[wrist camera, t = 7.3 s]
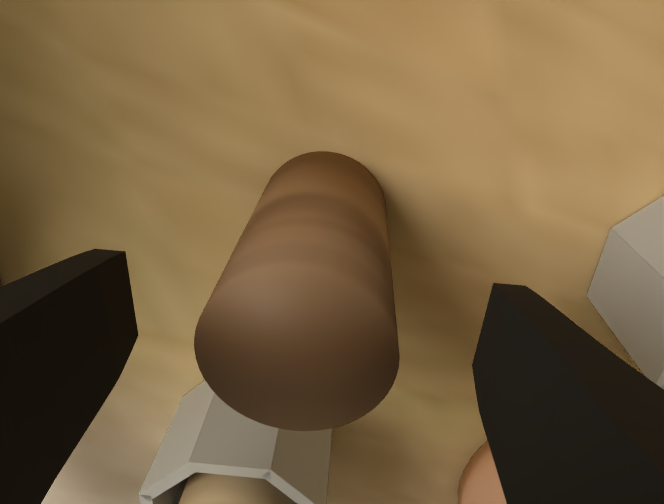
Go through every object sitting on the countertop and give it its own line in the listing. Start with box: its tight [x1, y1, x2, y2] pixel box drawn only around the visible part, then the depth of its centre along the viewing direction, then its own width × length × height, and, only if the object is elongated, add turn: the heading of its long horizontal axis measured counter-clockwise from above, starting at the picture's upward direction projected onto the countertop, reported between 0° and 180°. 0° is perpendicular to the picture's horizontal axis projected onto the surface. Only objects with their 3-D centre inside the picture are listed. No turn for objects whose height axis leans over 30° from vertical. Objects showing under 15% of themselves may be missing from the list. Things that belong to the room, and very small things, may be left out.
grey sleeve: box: [138, 381, 332, 504], centre depth 17 cm, size 6×6×4 cm
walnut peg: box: [194, 152, 399, 431], centre depth 11 cm, size 4×4×6 cm
